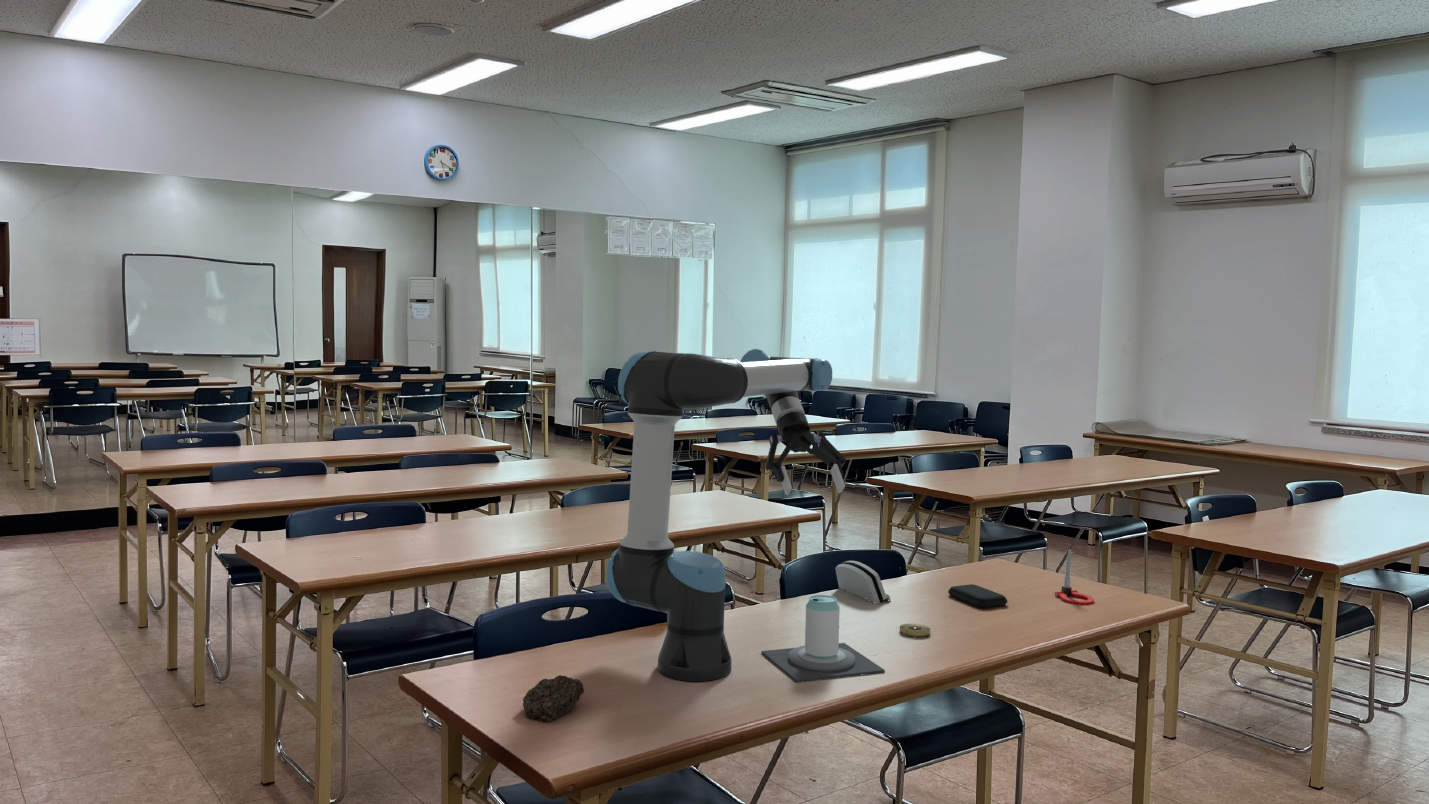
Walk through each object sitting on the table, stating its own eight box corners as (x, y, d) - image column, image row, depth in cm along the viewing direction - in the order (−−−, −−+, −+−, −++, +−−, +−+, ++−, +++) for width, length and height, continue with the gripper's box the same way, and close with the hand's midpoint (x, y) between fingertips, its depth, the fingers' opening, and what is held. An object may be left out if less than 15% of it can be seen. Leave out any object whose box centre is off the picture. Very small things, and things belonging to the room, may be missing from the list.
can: (824, 661, 203) (825, 604, 202) (797, 653, 208) (799, 597, 207) (844, 654, 208) (846, 598, 207) (818, 646, 213) (820, 591, 212)
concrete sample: (555, 694, 188) (555, 668, 187) (592, 707, 182) (593, 681, 181) (508, 712, 179) (508, 684, 178) (545, 727, 173) (546, 699, 172)
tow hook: (1100, 605, 259) (1076, 594, 267) (1104, 557, 257) (1080, 547, 266) (1074, 607, 256) (1051, 596, 264) (1078, 559, 254) (1054, 549, 263)
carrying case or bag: (1014, 607, 255) (976, 592, 268) (1014, 595, 254) (976, 581, 268) (981, 611, 250) (944, 596, 263) (982, 599, 250) (945, 585, 263)
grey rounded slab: (891, 601, 256) (882, 567, 253) (877, 609, 254) (868, 575, 251) (853, 585, 270) (844, 553, 268) (840, 593, 269) (830, 560, 266)
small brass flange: (909, 638, 225) (909, 633, 225) (893, 629, 232) (894, 624, 232) (936, 636, 228) (936, 630, 228) (919, 627, 234) (920, 621, 234)
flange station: (796, 682, 196) (796, 673, 196) (761, 653, 213) (761, 645, 213) (884, 672, 203) (885, 663, 203) (844, 644, 220) (844, 636, 220)
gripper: (831, 428, 249) (857, 497, 236) (739, 430, 240) (761, 502, 227) (841, 409, 243) (869, 479, 230) (747, 410, 235) (770, 483, 222)
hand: (815, 490), depth 229 cm, fingers open, 13 cm apart
